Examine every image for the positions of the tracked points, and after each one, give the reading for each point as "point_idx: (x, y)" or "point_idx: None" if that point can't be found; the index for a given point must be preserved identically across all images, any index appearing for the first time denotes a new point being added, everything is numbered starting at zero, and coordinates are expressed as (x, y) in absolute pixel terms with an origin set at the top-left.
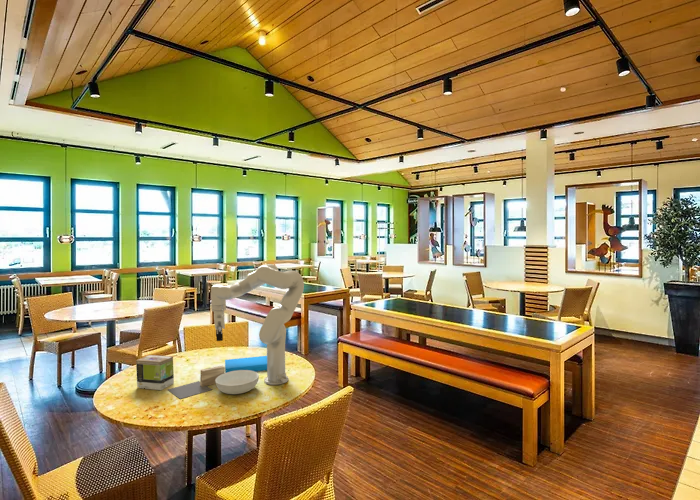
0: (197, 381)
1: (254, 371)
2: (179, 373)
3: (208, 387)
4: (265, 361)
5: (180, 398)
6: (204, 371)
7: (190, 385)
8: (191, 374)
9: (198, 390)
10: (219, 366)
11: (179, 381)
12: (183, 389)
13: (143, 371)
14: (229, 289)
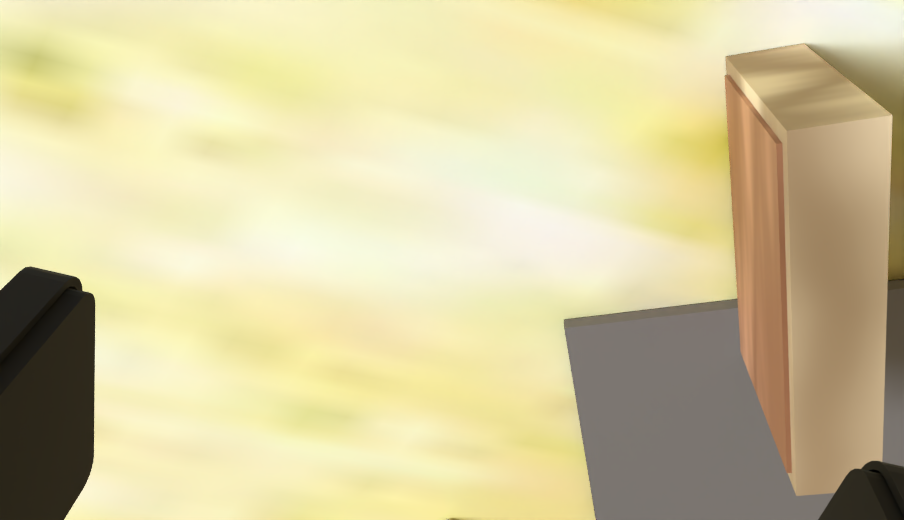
0: (571, 343)
1: None
2: (111, 408)
3: (892, 296)
4: None
5: None
6: (876, 455)
7: (654, 429)
8: (213, 318)
9: (891, 404)
10: (806, 199)
11: (398, 462)
12: (725, 502)
13: None
14: None
